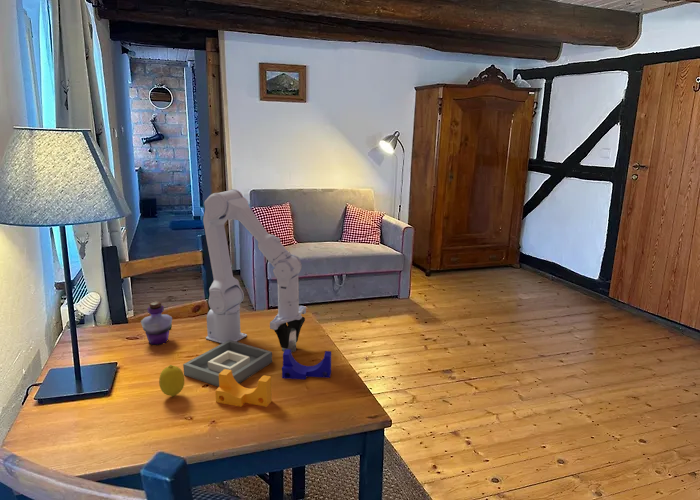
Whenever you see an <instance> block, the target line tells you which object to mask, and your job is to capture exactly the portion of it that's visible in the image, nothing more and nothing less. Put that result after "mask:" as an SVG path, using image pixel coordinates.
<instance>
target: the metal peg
mask: <svg viewBox="0 0 700 500" xmlns="http://www.w3.org/2000/svg"><path fill="white" fill-rule="evenodd" d="M285 349H286V348H282V347H281V351H282V352H283V353H284V351H285ZM287 349H290V350H291V353H294V352H296V351H297V342H296V329H295V328H292V329H291V332H290V336H289V346H288V348H287Z"/></svg>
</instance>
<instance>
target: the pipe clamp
mask: <svg viewBox="0 0 700 500" xmlns="http://www.w3.org/2000/svg"><path fill="white" fill-rule="evenodd" d="M214 391H215V402H216V403H218V404H222V405H223V404H224V405H229V406H235V407H241V408H242V407H243V406H244V405H245V404H249V405H256V406H260V407H265V408H266V407H268V406H269V405H270V404H271V403H272V401H273V397H272V376H271V375H270V376H269V375H265V374H264V375H262V376H261V377H260V378H259V379H258V381H257V386H256V387H253V388H250V387H249V388H248V387H244V386H243V385H241V383H240V384H238V383H237V382H236V380H235V379H234V377H233V375H232V370H228V369H224V370H223V371H221V372H220V373H219V387H217V388H216V389H215V390H214Z"/></svg>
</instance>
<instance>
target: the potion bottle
mask: <svg viewBox="0 0 700 500" xmlns="http://www.w3.org/2000/svg"><path fill="white" fill-rule="evenodd" d="M148 305H149V306H148V307H147V313H149V314H150V315H148V316H145V317H144V318H142V319H141V320H140V323H141V326H142V330H143V332H145V335H146V338H147V341H148V344H149V345H151V346H162V345H164V344H163V343H165V344H167V343H168V342H169V336H170V335H169V334H170V331H171V330H172V323H173V317H172V316H171V315H169V314H168V313H167V314H166V313H165V314H164V313H163V312H164V311H165V306H164V305H162V302H161V301H157V300H156V301H152V302H150V303H149V304H148ZM162 313H163V314H162ZM167 340H168V341H167ZM166 341H167V342H166Z"/></svg>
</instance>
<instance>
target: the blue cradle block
mask: <svg viewBox="0 0 700 500" xmlns="http://www.w3.org/2000/svg"><path fill="white" fill-rule="evenodd" d="M292 353H293V352H292ZM292 353H291V350H290V349H285V351H284V352H283V353H282V367H281V378H282V379H291V380H306V379H307V377H308V378H309V377H312V378H326V379H327V378H328V379H329V378H331V374H332V351H330V350H325V352H324V355H323V359H322V360H321V361H319V362H318V363H317V364H314V365H303V364H301V363H299V362H298V361H297V360H296V359H295V358H294V356H293V354H292Z"/></svg>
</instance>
